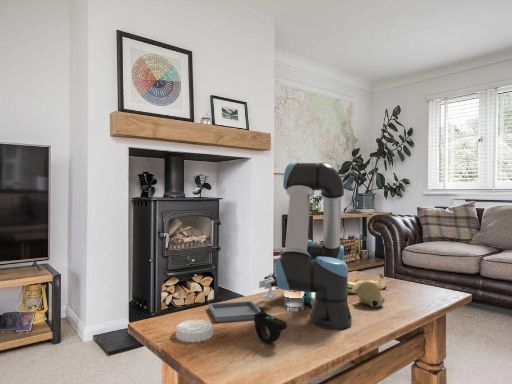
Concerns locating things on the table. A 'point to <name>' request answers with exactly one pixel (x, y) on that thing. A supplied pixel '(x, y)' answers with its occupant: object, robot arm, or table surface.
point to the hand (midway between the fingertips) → (262, 285)
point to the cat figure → (353, 286)
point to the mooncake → (194, 331)
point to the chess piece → (270, 290)
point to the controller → (268, 326)
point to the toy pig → (369, 293)
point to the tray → (233, 311)
